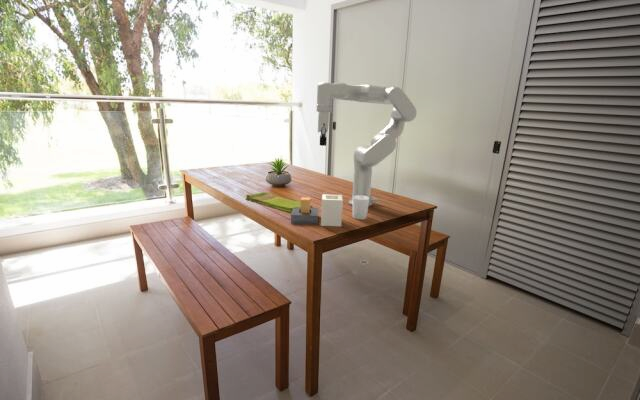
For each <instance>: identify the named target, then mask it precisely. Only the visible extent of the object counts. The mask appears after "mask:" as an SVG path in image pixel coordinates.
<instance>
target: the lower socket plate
mask: <svg viewBox="0 0 640 400" xmlns="http://www.w3.org/2000/svg"><path fill="white" fill-rule="evenodd" d="M318 223H319V207H313V208H312V207H310V213H301V207H293V210H292V213H290V224H301V225H302V224H303V225H318Z"/></svg>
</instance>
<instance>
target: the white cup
mask: <svg viewBox="0 0 640 400" xmlns="http://www.w3.org/2000/svg"><path fill="white" fill-rule="evenodd" d="M368 205H369V197H367V196H362V195H356V196H353V203H352V205H351V206H352V209H351V211H352V218H353V219H356V220H366V219H367V216H368V211H369V206H368Z"/></svg>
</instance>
